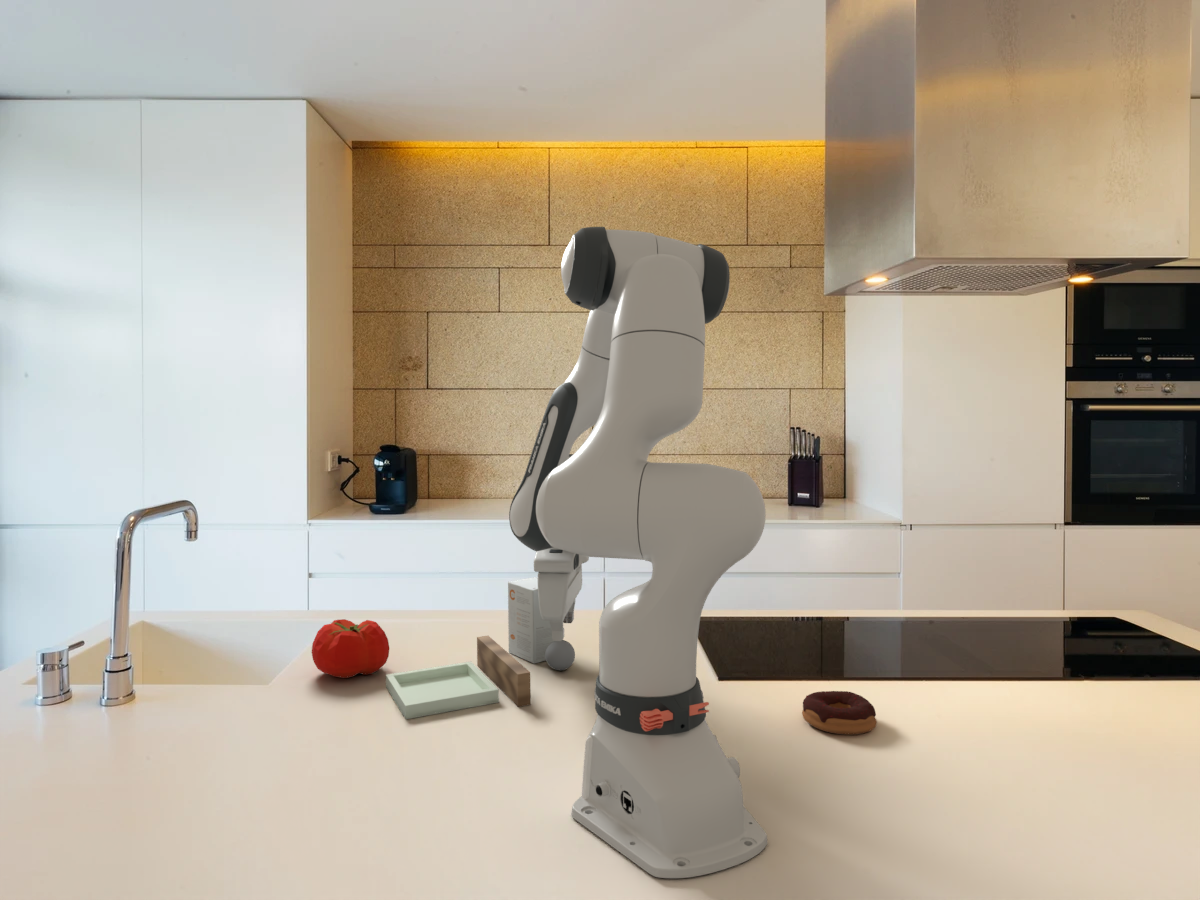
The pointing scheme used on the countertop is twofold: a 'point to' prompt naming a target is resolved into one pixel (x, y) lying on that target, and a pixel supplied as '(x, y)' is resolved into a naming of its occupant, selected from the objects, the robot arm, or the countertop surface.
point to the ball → (560, 655)
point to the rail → (504, 670)
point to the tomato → (350, 648)
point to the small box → (527, 621)
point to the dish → (440, 689)
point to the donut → (839, 712)
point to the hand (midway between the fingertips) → (563, 630)
